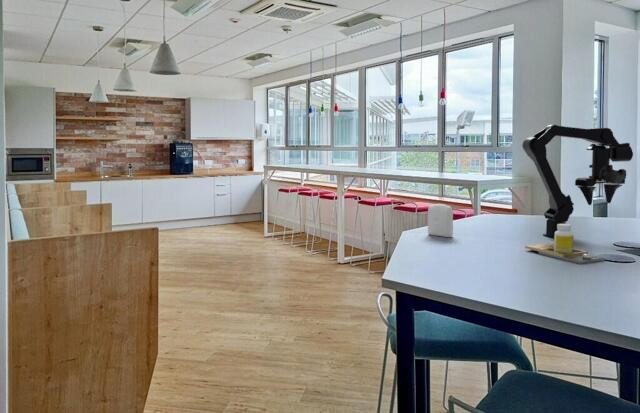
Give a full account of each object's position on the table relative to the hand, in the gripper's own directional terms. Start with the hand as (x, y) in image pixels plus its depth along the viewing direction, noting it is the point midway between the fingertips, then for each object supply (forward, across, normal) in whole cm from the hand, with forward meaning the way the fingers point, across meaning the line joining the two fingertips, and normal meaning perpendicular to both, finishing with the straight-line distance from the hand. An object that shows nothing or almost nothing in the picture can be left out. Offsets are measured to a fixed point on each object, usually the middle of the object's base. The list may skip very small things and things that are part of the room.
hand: (599, 204), depth 198 cm
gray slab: (+11, -38, -21) cm, 45 cm away
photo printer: (+11, -53, +25) cm, 60 cm away
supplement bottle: (+12, -38, -21) cm, 45 cm away
